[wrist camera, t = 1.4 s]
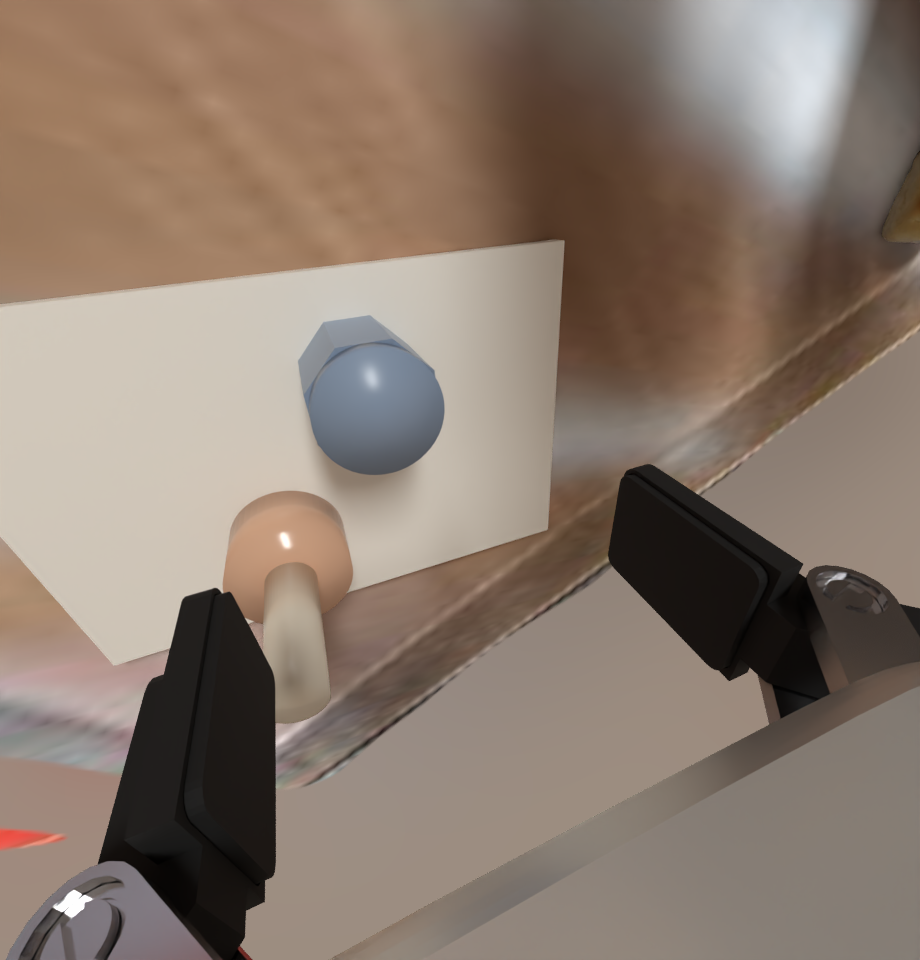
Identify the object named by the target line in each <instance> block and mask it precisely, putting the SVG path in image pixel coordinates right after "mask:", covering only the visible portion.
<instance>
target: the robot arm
mask: <svg viewBox="0 0 920 960" xmlns="http://www.w3.org/2000/svg"><path fill="white" fill-rule="evenodd" d="M608 557H609V561H610V563H611V565H612V566H613V567H614V569H615V570H616V571H617V572H618V573H619V574H620V575H621V576H622V577H623V578H624V579H625V580H626V581H627V582H628V583H629V584H630V585H631V586H632V587H633V588H634V589H635V590H636V591H637V592H638V593H639V594H640V595H641V596H642V598H643V599H644V600H645V601H646V602H647V603H648V604H649V605H650V606H651V607H652V608H653V609H654V610H655V611H656V612H657V613H658V614H659V615H660V616H661V617H662V618H663V619H664V620H665V621H666V622H667V623H668V624H669V625H670V627H671V628H673V630H674V631H675V632H676V633H677V634H678V635H679V636H680V637H681V638H682V639H683V640H684V641H685V642H686V643H687V644H688V645H689V646H690V647H691V648H692V649H693V650H694V651H695V652H696V653H697V654H698V655H699V657H701V659H702V660H703V661H704V662H705V663H706V664H707V665H708V666H710V667H711V668H713V669H715V670H719V671H720V672H721V673H722V674H723V675H724V676H725V677H726V678H727V680H729V681H730V680H732V679H734V678H737V677H739V676H741V675H743V674H745V673H747V672H748V670H749V668H751V669H752V670H753V671H754V672H755V673H757V674H758V678H759V682H760V686H761V691H762V694H763V700H764V704H765V708H766V713H767V717H768V721H769V725H768V726H766V727H764V728H762V729H760V730H758V731H756V732H755V733H753V734H751V735H749V736H747V737H745V738H743V739H741V740H739V741H738V742H735V743H734V744H731V745H730V746H728V747H726V748H724V749H722V750H720V751H718V752H716V753H714V754H712V755H710V756H708V757H706V758H704V759H703V760H701V761H699V762H697V763H695V764H693V765H691V766H689V767H687V768H685V769H684V770H682V771H680V772H678V773H676V774H674V775H672V776H670V777H668V778H666V779H664V780H663V781H661V782H659V783H657V784H655V785H653V786H652V787H649V788H647V789H645V790H644V791H642V792H640V793H638V794H636V795H634V796H632V797H630V798H628V799H627V800H625V801H623V802H621V803H619V804H617V805H615V806H613V807H611V808H609V809H607V810H605V811H604V812H602V813H600V814H598V815H596V816H594V817H592V818H590V819H588V820H587V821H585V822H583V823H581V824H579V825H577V826H575V827H573V828H571V829H569V830H567V831H566V832H564V833H562V834H560V835H558V836H556V837H554V838H552V839H551V840H549V841H547V842H545V843H543V844H541V845H539V846H537V847H536V848H534V849H532V850H530V851H528V852H526V853H524V854H523V855H520V856H519V857H517V858H515V859H513V860H511V861H509V862H507V863H506V864H504V865H502V866H500V867H498V868H496V869H494V870H492V871H491V872H489V873H487V874H485V875H483V876H481V877H479V878H477V879H475V880H473V881H472V882H470V883H468V884H466V885H464V886H462V887H460V888H459V889H457V890H455V891H453V892H451V893H449V894H447V895H446V896H443V897H442V898H440V899H438V900H436V901H434V902H432V903H430V904H428V905H427V906H425V907H423V908H421V909H419V910H418V911H416V912H414V913H413V914H410V915H409V916H407V917H405V918H403V919H402V920H400V921H398V922H396V923H394V924H393V925H391V926H389V927H387V928H385V929H384V930H382V931H380V932H379V933H376V934H375V935H373V936H371V937H369V938H367V939H366V940H364V941H362V942H360V943H358V944H357V945H355V946H353V947H351V948H349V949H348V950H346V951H344V952H342V953H340V954H338V955H337V956H335V957H333V958H332V959H329V960H920V608H915V607H910V606H906V605H902V604H899V603H898V601H897V599H896V598H895V597H894V596H893V595H892V593H891V592H890V591H889V590H888V589H887V588H885V587H884V586H883V585H882V584H880V583H879V582H877V581H876V580H874V579H872V578H870V577H868V576H866V575H864V574H862V573H859V572H857V571H854V570H851V569H847V568H843V567H839V566H828V565H825V566H819V567H815V568H813V569H812V570H810V571H809V573H808V575H807V577H806V578H805V577H804V576H802V575H801V574H799V571H800V569H801V567H802V566H803V563H801V562H800V561H798V560H797V559H795V558H793V557H792V556H791V555H789V554H787V553H786V552H784V551H783V550H781V549H780V548H778V547H777V546H775V545H774V544H772V543H771V542H769V541H768V540H766V539H765V538H763V537H762V536H760V535H758V534H757V533H755V532H754V531H752V530H751V529H749V528H748V527H746V526H745V525H743V524H742V523H740V522H739V521H737V520H736V519H734V518H732V517H731V516H730V515H728V514H726V513H725V512H723V511H722V510H720V509H719V508H717V507H716V506H714V505H713V504H711V503H710V502H708V501H707V500H705V499H704V498H702V497H701V496H699V495H698V494H696V493H695V492H693V491H692V490H690V489H688V488H687V487H685V486H684V485H682V484H681V483H679V482H678V481H676V480H675V479H673V478H672V477H670V476H669V475H667V474H666V473H664V472H663V471H661V470H660V469H658V468H656V467H655V466H653V465H651V464H646V465H643V466H640V467H636V468H633V469H629V470H627V471H626V473H625V475H624V477H623V478H622V479H621V481H620V486H619V492H618V498H617V504H616V510H615V516H614V522H613V528H612V534H611V540H610V546H609V552H608ZM275 793H276V759H275V679H274V674H273V671H272V669H271V667H270V665H269V663H268V661H267V659H266V657H265V655H264V653H263V651H262V650H261V648H260V646H259V644H258V642H257V640H256V638H255V636H254V634H253V632H252V631H251V629H250V627H249V625H248V623H247V621H246V619H245V617H244V615H243V613H242V612H241V610H240V608H239V606H238V604H237V602H236V600H235V598H234V596H233V595H232V593H231V592H225V593H221V591H220V590H219V589H218V588H213V589H209V590H206V591H202V592H199V593H195V594H192V595H188V596H185V597H184V598H183V600H182V602H181V606H180V610H179V614H178V618H177V622H176V626H175V631H174V635H173V639H172V643H171V647H170V651H169V655H168V660H167V664H166V668H165V672H164V675H161V676H158V677H155V678H153V679H152V680H151V681H150V682H149V684H148V685H147V688H146V690H145V693H144V697H143V700H142V704H141V708H140V711H139V715H138V719H137V722H136V726H135V730H134V733H133V737H132V741H131V744H130V748H129V752H128V755H127V759H126V763H125V766H124V770H123V773H122V777H121V781H120V785H119V788H118V792H117V796H116V799H115V803H114V807H113V810H112V814H111V817H110V821H109V825H108V829H107V832H106V836H105V840H104V843H103V847H102V850H101V854H100V858H99V862H98V865H95V866H92V867H89V868H88V869H86V870H84V871H83V872H81V873H79V874H78V875H76V876H75V877H73V878H71V879H70V880H68V881H67V882H66V883H65V884H64V885H63V886H61V887H60V888H59V889H58V890H57V891H56V892H55V893H54V894H52V896H50V897H49V898H48V899H47V900H46V901H45V902H44V903H43V905H42V906H41V907H40V908H39V909H38V911H37V912H36V913H35V914H34V915H33V916H32V918H31V919H30V920H29V921H28V922H27V924H26V925H25V927H24V929H23V930H22V932H21V933H20V935H19V937H18V938H17V940H16V941H15V943H14V944H13V946H12V948H11V949H10V951H9V953H8V956H7V958H6V960H252V959H251V958H250V956H249V955H248V954H247V953H246V952H245V951H244V950H243V949H242V948H241V947H240V944H241V943H242V941H243V939H244V938H245V920H246V919H245V918H246V910H248V909H250V908H252V907H255V906H257V905H259V904H261V903H263V902H265V880H267V879H269V878H271V877H272V876H273V875H274V872H275V863H276V825H275V824H276V811H275V810H276V805H275V804H276V794H275Z"/></svg>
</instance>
